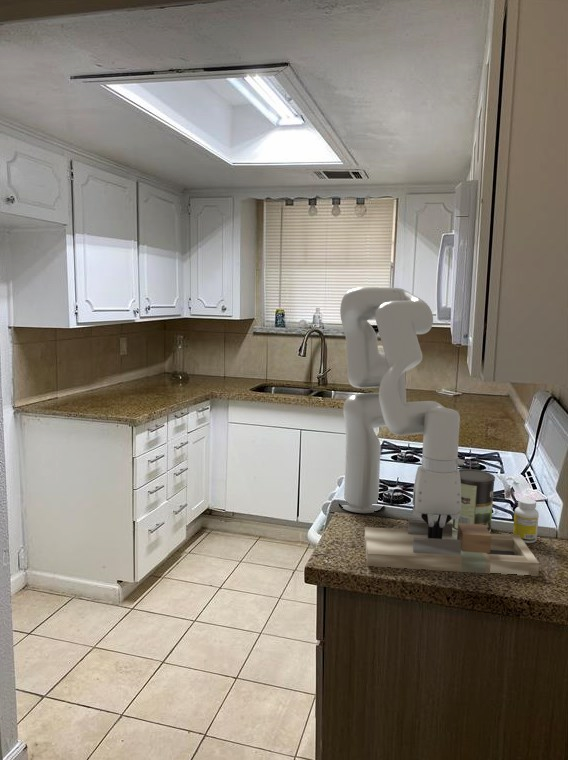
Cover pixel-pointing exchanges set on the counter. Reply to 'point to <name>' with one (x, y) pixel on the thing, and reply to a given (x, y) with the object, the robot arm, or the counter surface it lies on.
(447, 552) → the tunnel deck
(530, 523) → the supplement bottle
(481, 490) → the coffee can
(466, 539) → the walnut block
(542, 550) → the counter surface
